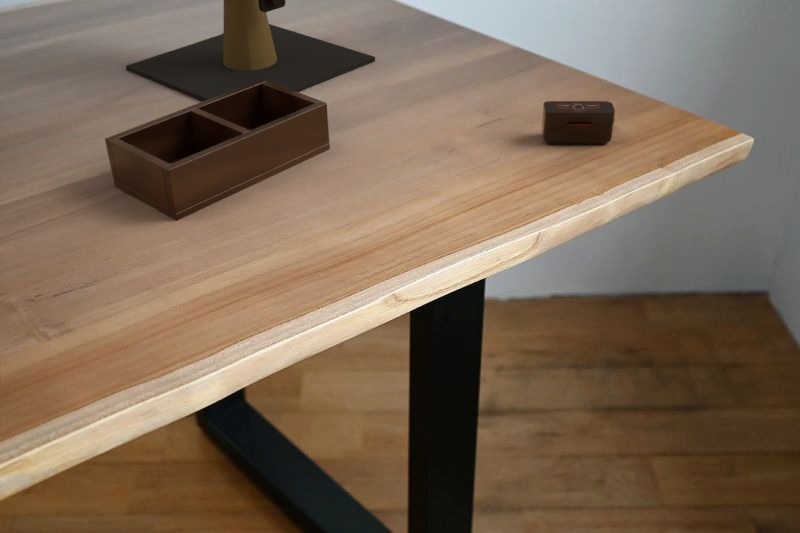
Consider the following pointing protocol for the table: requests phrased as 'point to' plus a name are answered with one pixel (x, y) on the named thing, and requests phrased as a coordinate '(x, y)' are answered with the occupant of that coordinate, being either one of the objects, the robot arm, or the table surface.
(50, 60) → the table surface
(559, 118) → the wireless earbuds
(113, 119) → the table surface
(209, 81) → the mat
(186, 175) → the organizer
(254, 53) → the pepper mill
